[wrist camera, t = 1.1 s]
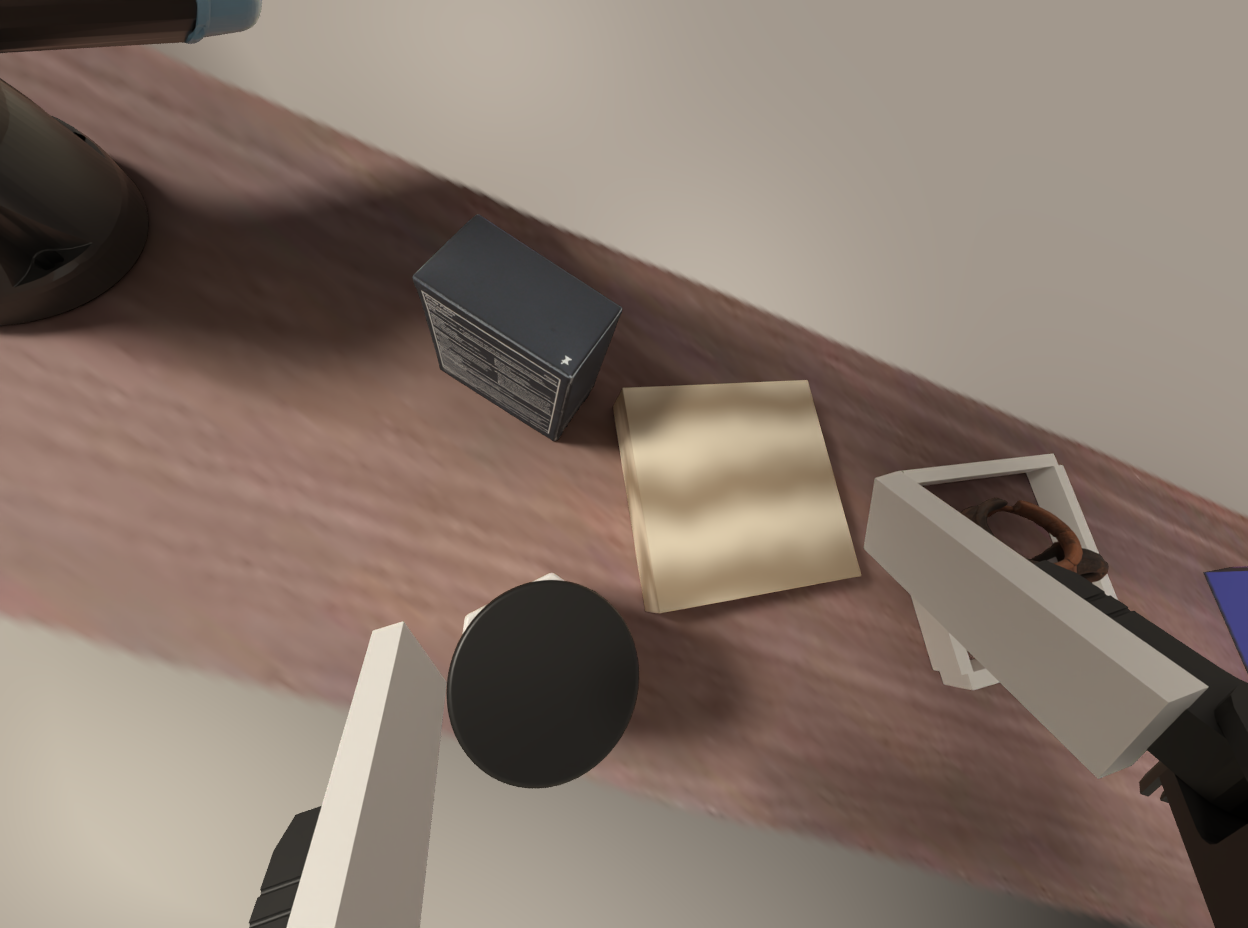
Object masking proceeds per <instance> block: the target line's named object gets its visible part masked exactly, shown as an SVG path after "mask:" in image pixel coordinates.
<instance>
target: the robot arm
mask: <svg viewBox="0 0 1248 928" xmlns="http://www.w3.org/2000/svg"><path fill="white" fill-rule="evenodd" d="M261 7H262V0H0V53H7V52H24V51H42V50H59V49H76V48H93V47H110V46H127V45H144V44H161V43H179V42H182V43H183V42H184V43H188V44H192V43H197V42H199V41H200V40H201V39H203V37H209V36H216V35H222V34H228V33H235V32H241V31H244V30H247V29H249V28H251V27H252V26H253V25H254V24H255V23H256V22H257V20H258V18H259V16H260V12H261ZM147 234H148V213H147V208H146V204H145V202H144V199H143V197H142V195H141V193H140V191H139V190H138V188H137V187H136V185H135V184H134V183H133V181H132V180H131V179H130V178H129V177H128V176H127V175H126V174H125V173H124V172H123V170H122V169H121V168H120V167H119V166H118V165H117V164H116V163H115V162H114V161H113V160H112V158H111V157H110V156H109V155H108V154H107V153H106V152H105V151H104V150H103V149H102V148H101V147H99V146H98V145H97V144H96V143H95V142H94V141H92V140H91V139H90V138H88V137H87V136H86V135H84V134H83V133H81V132H80V131H78V130H77V129H75V128H74V127H72V126H70V125H69V124H67V123H65V122H63V121H61V120H60V119H58V118H55V117H53V116H50V115H49V114H48V113H46V112H45V111H44V110H43V109H42V108H41V107H39V106H38V105H37V104H36V103H34V102H33V101H32V100H30V99H29V98H28V97H26V96H25V95H24V94H22V93H21V92H19V91H18V90H17V89H15V88H14V87H12V86H11V85H9V84H8V83H6V82H5V81H3V80H2V79H1V78H0V325H10V324H18V323H24V322H30V321H35V320H39V319H43V318H47V317H51V316H54V315H57V314H60V313H63V312H66V311H68V310H71V309H73V308H76V307H78V306H80V305H82V304H85V303H86V302H88V301H90V300H92V299H94V298H96V297H97V296H99V295H100V294H102V293H104V292H105V291H106V290H108V289H109V288H111V287H112V286H113V285H114V284H116V283H117V282H118V281H119V280H120V279H121V278H122V277H123V276H124V275H125V274H126V273H127V272H128V271H129V270H130V269H131V267H132V266H133V265H134V263H135V262H136V260H137V259H138V257H139V256H140V254H141V252H142V250H143V247H144V245H145V242H146V238H147ZM864 549H865V550H866V551H867V552H868V553H869V554H870V555H871V556H872V557H873V558H874V559H875V560H876V561H877V562H878V563H879V564H880V565H881V566H882V567H883V568H884V569H885V570H886V571H887V572H888V573H889V574H890V575H891V576H892V577H893V578H894V579H895V580H896V581H897V582H898V583H899V584H900V585H901V586H902V587H903V588H904V589H905V590H906V591H907V592H908V593H909V594H910V595H911V596H912V597H913V598H914V599H915V600H916V601H917V602H918V603H920V604H921V605H922V606H923V607H924V608H925V609H926V610H927V611H928V612H929V613H930V614H931V615H932V616H933V617H934V618H935V619H936V620H937V621H938V622H939V623H940V624H941V625H942V626H943V627H944V628H945V629H946V630H947V631H948V632H949V633H950V634H951V635H952V636H953V637H954V638H955V639H956V640H957V641H958V642H959V643H960V644H961V645H962V646H963V647H964V648H965V649H966V650H967V651H968V652H969V653H970V654H971V655H972V656H973V657H974V658H975V659H976V660H978V661H979V662H980V663H981V664H982V665H983V666H984V667H985V668H986V669H987V670H988V671H989V672H990V673H991V674H992V675H993V676H994V677H995V678H996V679H997V680H998V681H999V682H1000V683H1001V684H1002V685H1003V686H1004V687H1005V688H1006V689H1007V690H1008V691H1009V692H1010V693H1011V694H1012V695H1013V696H1014V697H1015V698H1016V699H1017V700H1018V701H1019V702H1020V703H1021V704H1022V705H1023V706H1024V707H1025V708H1026V709H1027V710H1028V711H1029V712H1030V713H1031V714H1032V715H1033V716H1035V717H1036V718H1037V719H1038V720H1039V721H1040V722H1041V723H1042V724H1043V725H1044V726H1045V727H1046V728H1047V729H1048V730H1049V731H1050V732H1051V733H1052V734H1053V735H1054V736H1055V737H1056V738H1057V739H1058V740H1059V741H1060V742H1061V743H1062V744H1063V745H1064V746H1065V747H1066V748H1067V749H1068V750H1069V751H1070V752H1071V753H1072V754H1073V755H1074V756H1075V757H1076V758H1077V759H1078V760H1079V761H1080V762H1081V763H1082V764H1083V765H1084V766H1085V767H1086V768H1087V769H1088V770H1089V771H1090V772H1091V773H1093V774H1094V775H1095V776H1096V777H1097V778H1098V779H1099V778H1102V777H1104V776H1107V775H1109V774H1112V773H1114V772H1117V771H1119V770H1122V769H1124V768H1127V767H1129V766H1132V765H1133V764H1134V763H1135V762H1136V761H1137V760H1138V759H1139V758H1140V757H1141V756H1142V755H1143V754H1144V753H1145V752H1146V751H1147V750H1148V751H1149V752H1150V753H1151V754H1152V755H1154V756H1155V757H1156V758H1157V759H1158V760H1159V762H1158V763H1157V764H1156V765H1155V766H1154V767H1153V768H1151V769H1150V770H1149V771H1148V772H1147V773H1146V774H1145V775H1144V777H1143V778H1142V779H1141V781H1140V782H1139V784H1140V794H1142V795H1145V796H1150V795H1151V794H1152V793H1153V792H1154V791H1155V790H1156V789H1157V788H1159V787H1160V786H1161V785H1162V786H1163V789H1164V791H1163V792H1162V795H1161V797H1160V800H1161V801H1164V802H1167V803H1169V805H1170V807H1171V810H1172V813H1173V816H1174V818H1175V821H1176V824H1177V826H1178V829H1179V832H1180V834H1181V837H1182V840H1183V842H1184V845H1185V848H1186V850H1187V853H1188V856H1189V859H1190V861H1191V864H1192V867H1193V869H1194V872H1195V875H1196V877H1197V880H1198V883H1199V885H1200V888H1201V891H1202V893H1203V896H1204V899H1205V902H1206V904H1207V907H1208V910H1209V912H1210V915H1211V918H1212V920H1213V923H1214V926H1215V928H1248V683H1246V682H1244V681H1242V680H1240V679H1238V678H1236V677H1235V676H1233V675H1231V674H1229V673H1228V672H1226V671H1224V670H1223V669H1221V668H1219V667H1218V666H1216V665H1215V664H1213V663H1212V662H1210V661H1209V660H1207V659H1206V658H1204V657H1203V656H1201V655H1200V654H1198V653H1197V652H1195V651H1194V650H1192V649H1191V648H1189V647H1188V646H1186V645H1185V644H1183V643H1182V642H1180V641H1179V640H1177V639H1176V638H1174V637H1173V636H1171V635H1170V634H1168V633H1167V632H1165V631H1164V630H1162V629H1161V628H1159V627H1158V626H1156V625H1155V624H1153V623H1151V622H1150V621H1148V620H1147V619H1145V618H1144V617H1142V616H1141V615H1139V614H1138V613H1136V612H1135V611H1130V610H1129V609H1128V607H1127V606H1126V605H1124V604H1123V603H1121V602H1120V601H1118V600H1117V599H1115V598H1114V597H1112V596H1111V595H1110V596H1108V595H1106V594H1105V591H1103V590H1102V589H1100V588H1099V587H1097V586H1096V585H1094V584H1093V583H1091V582H1090V581H1088V580H1087V579H1085V578H1083V577H1082V576H1080V575H1079V574H1077V573H1075V572H1073V571H1071V570H1068V569H1066V568H1063V567H1061V566H1059V565H1056V564H1054V563H1051V562H1049V561H1047V560H1044V561H1041V562H1038V563H1035V564H1032V563H1031V562H1030V561H1028V560H1027V559H1025V558H1024V557H1022V556H1021V555H1020V554H1018V553H1017V552H1015V551H1014V550H1012V549H1011V548H1010V547H1008V546H1007V545H1005V544H1004V543H1002V542H1001V541H1000V540H998V539H997V538H995V537H994V536H992V535H991V534H990V533H988V532H987V531H985V530H984V529H982V528H981V527H980V526H978V525H977V524H975V523H974V522H972V521H971V520H970V519H968V518H967V517H965V516H964V515H962V514H961V513H959V512H958V511H957V510H955V509H954V508H952V507H951V506H949V505H948V504H947V503H945V502H944V501H942V500H941V499H939V498H938V497H937V496H935V495H934V494H932V493H931V492H929V491H928V490H927V489H925V488H924V487H922V486H921V485H919V484H918V483H917V482H915V481H914V480H912V479H911V478H909V477H908V476H907V475H905V474H904V473H902V472H901V471H896V472H893V473H890V474H886V475H883V476H880V477H877V478H875V481H874V487H873V493H872V499H871V506H870V512H869V518H868V524H867V530H866V536H865V543H864ZM446 683H447V682H446V681H445V679H444V678H443V676H442V675H441V673H440V672H439V671H438V669H437V668H436V666H435V665H434V664H433V662H432V661H431V659H430V658H429V656H428V655H427V654H426V652H425V651H424V649H423V648H422V647H421V645H420V644H419V642H418V641H417V639H416V638H415V637H414V635H413V634H412V632H411V631H410V630H409V628H408V627H407V625H406V624H405V623H404V621H403V622H400V623H397V624H393V625H390V626H387V627H383V628H380V629H377V630H373V632H372V635H371V639H370V642H369V645H368V649H367V652H366V656H365V659H364V663H363V666H362V669H361V673H360V676H359V680H358V683H357V687H356V690H355V694H354V697H353V700H352V704H351V707H350V711H349V714H348V718H347V721H346V725H345V728H344V731H343V735H342V738H341V742H340V745H339V749H338V752H337V755H336V759H335V763H334V766H333V769H332V773H331V776H330V780H329V783H328V786H327V790H326V793H325V797H324V800H323V804H322V806H320V807H317V808H314V809H311V810H308V811H305V812H302V813H299V814H297V815H295V817H294V819H293V820H292V822H291V823H290V825H289V827H288V829H287V830H286V832H285V833H284V835H283V837H282V838H281V840H280V841H279V843H278V845H277V846H276V848H275V850H274V852H273V854H272V857H271V860H270V863H269V866H268V869H267V872H266V875H265V878H264V880H263V883H262V886H261V889H260V890H261V895H260V897H258V898H257V901H256V904H255V906H254V909H253V912H252V915H251V918H250V921H249V923H250V927H249V928H420V920H421V911H422V901H423V893H424V883H425V875H426V865H427V856H428V847H429V838H430V829H431V820H432V810H433V801H434V792H435V783H436V774H437V765H438V756H439V746H440V738H441V729H442V720H443V711H444V702H445V692H446Z"/></svg>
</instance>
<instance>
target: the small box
mask: <svg viewBox="0 0 1248 928" xmlns="http://www.w3.org/2000/svg"><path fill="white" fill-rule="evenodd" d="M413 282H414V285H415V287H416V289H417V291H418V294H419V297H420V299H421V303H422V306H423V309H424V311H425V316H426V320H427V323H428V326H429V330H430V333H431V337H432V340H433V343H434V347H435V351H436V354H437V358H438V362H439V367H440V369H441V370H442V371H444V372H445V373H447V374H449V375H450V376H452V377H453V378H455V379H456V380H458V381H459V382H461V383H462V384H464V385H466V386H467V387H469V388H470V389H472V390H473V391H475V392H476V393H478V394H480V395H481V396H483V397H484V398H486V399H488V400H489V401H491V402H492V403H494V404H495V405H497V406H499V407H500V408H502V409H503V410H505V411H506V412H508V413H510V414H511V415H513V416H514V417H516V418H517V419H519V420H521V421H522V422H524V423H525V424H527V425H528V426H530V427H532V428H533V429H535V430H537V431H538V432H540V433H542V434H543V435H545V436H546V437H548V438H550V439H551V440H552V441H555V440H558V439H559V438H560V436H561V435H562V433H563V430H564V429H565V428H566V427H567V424H568V423H569V422H570V421H571V418H573V416H574V414H575V413H576V411H577V410H578V409H579V407H580V406H581V405H582V403H583V402H584V401H585V400H586V399H587V397H588V395H589V393H590V391H591V389H592V388H593V387H594V384H595V381H596V378H597V375H598V372H599V370H600V367H601V365H602V362H603V359H604V356H605V354H606V351H607V348H608V346H609V343H610V341H611V338H612V336H613V333H614V330H615V327H616V325H617V322H618V319H619V317H620V314H621V313H622V307H621V306H619V305H617V304H616V303H614V302H613V301H611V300H609V299H608V298H606V297H605V296H603V295H602V294H600V293H599V292H597V291H596V290H594V289H593V288H591V287H589V286H588V285H586V284H585V283H583V282H582V281H580V280H579V279H577V278H575V277H574V276H572V275H571V274H569V273H568V272H566V271H565V270H563V269H562V268H560V267H559V266H557V265H555V264H554V263H552V262H551V261H549V260H548V259H546V258H545V257H543V256H542V255H540V254H539V253H537V252H535V251H534V250H532V249H531V248H529V247H528V246H526V245H525V244H523V243H522V242H520V241H519V240H517V239H516V238H514V237H512V236H511V235H509V234H508V233H506V232H505V231H503V230H502V229H500V228H499V227H497V226H496V225H494V224H493V223H491V222H490V221H488V220H487V219H485V218H484V217H482V216H481V215H475V216H474V217H473V218H472V219H471V220H470V221H468V222H467V223H466V224H465V225H464V226H463V227H462V228H461V229H460V230H459V231H458V232H457V233H456V234H455V235H454V236H453V237H452V238H451V239H450V240H448V241H447V242H446V244H445V245H444V246H443V247H442V248H441V249H439V250H438V251H437V252H436V253H435V254H434V255H433V256H432V257H431V258H430V259H429V260H428V261H427V262H426V263H425V264H424V265H423V266H422V267H421V268H420V269H419V270H418V271H417V272H416V273H415V274H414V275H413Z"/></svg>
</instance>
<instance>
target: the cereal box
mask: <svg viewBox="0 0 1248 928" xmlns="http://www.w3.org/2000/svg"><path fill="white" fill-rule="evenodd" d="M1203 573H1204V575H1205V577H1206V580H1207V582H1208V584H1209V586H1210V589H1211V591H1212V593H1213V596H1214V598H1215V600H1216V602H1217V605H1218V607H1219V609H1220V611H1221V614H1222V616H1223V618H1224V621H1225V623H1226V625H1227V627H1228V630H1229V632H1230V634H1231V636H1232V639H1233V641H1234V643H1235V646H1236V648H1237V650H1238V652H1239V655H1240V657H1241V659H1242V661H1243V664H1244V666H1245V668H1246V671H1247V673H1248V566H1247V567H1229V568H1224V569H1219V570H1214V571H1208V572H1203Z"/></svg>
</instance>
